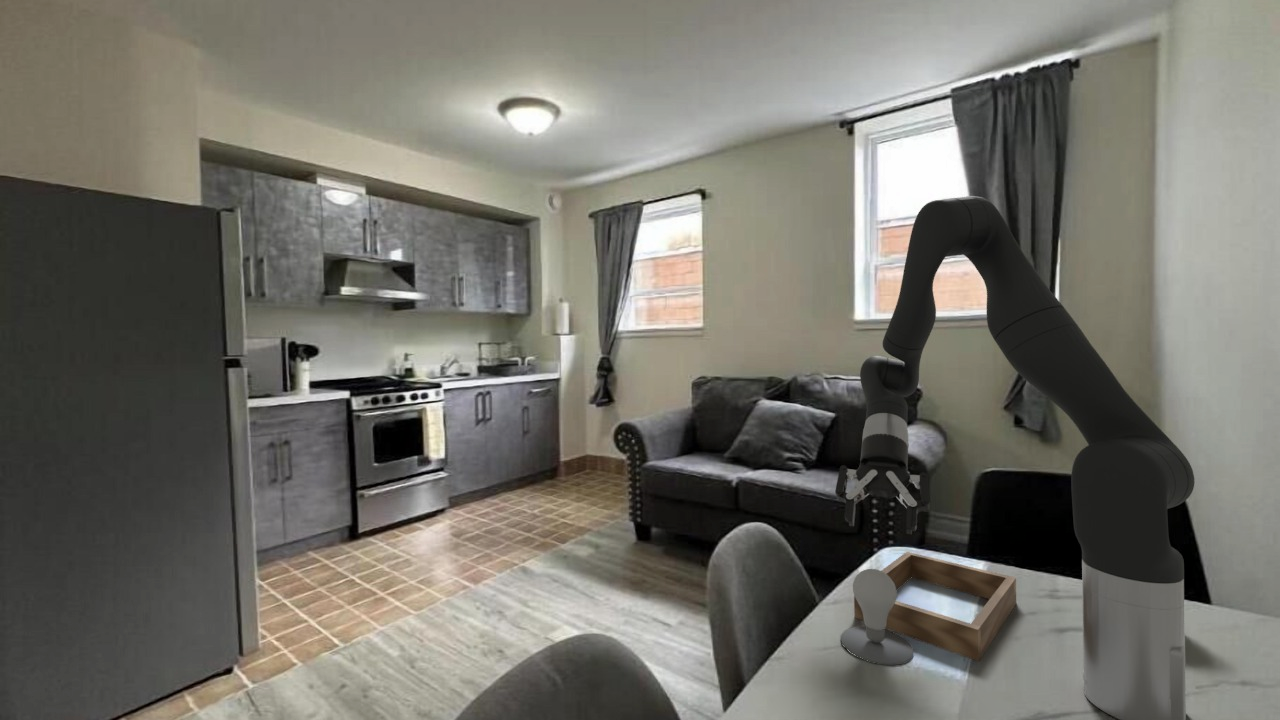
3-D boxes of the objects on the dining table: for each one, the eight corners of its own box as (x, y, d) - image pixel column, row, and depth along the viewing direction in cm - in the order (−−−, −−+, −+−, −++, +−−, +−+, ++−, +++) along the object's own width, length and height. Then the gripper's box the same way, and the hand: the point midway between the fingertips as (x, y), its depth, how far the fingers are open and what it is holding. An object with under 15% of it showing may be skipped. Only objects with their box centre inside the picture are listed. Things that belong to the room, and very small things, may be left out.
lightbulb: (865, 627, 84) (864, 559, 84) (904, 642, 80) (903, 570, 80) (846, 641, 81) (844, 570, 80) (886, 658, 76) (884, 583, 76)
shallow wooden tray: (1016, 603, 92) (1015, 577, 92) (978, 661, 76) (978, 629, 75) (907, 574, 105) (906, 551, 105) (854, 617, 88) (854, 591, 88)
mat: (923, 645, 80) (923, 642, 80) (898, 674, 73) (898, 671, 73) (857, 622, 87) (857, 619, 87) (829, 646, 80) (829, 643, 80)
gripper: (840, 429, 96) (829, 510, 86) (929, 434, 89) (929, 522, 79) (844, 453, 100) (835, 532, 91) (930, 460, 93) (930, 546, 84)
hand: (879, 527), depth 85 cm, fingers open, 8 cm apart
